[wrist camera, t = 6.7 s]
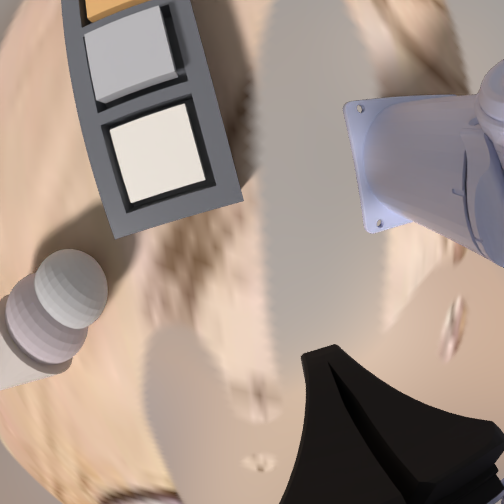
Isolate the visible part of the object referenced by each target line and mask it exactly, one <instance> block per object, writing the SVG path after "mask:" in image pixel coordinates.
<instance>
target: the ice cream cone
mask: <svg viewBox="0 0 504 504" xmlns="http://www.w3.org/2000/svg"><path fill="white" fill-rule="evenodd" d="M107 296H108V286H107V281H106V277H105V274H104V272H103V270H102V268H101V266H100V265H99V264H98V262H97V261H96V260H95V259H94V258H93V257H91V256H90V255H88V254H86V253H84V252H82V251H80V250H75V249H63V250H59V251H56V252H54V253H52V254H51V255H49V256H48V257H46V259H45V260H44V261H43V262H42V263H41V265H40V266H39V268H38V270H37V272H36V273H33V274H30V275H27V276H26V277H24V278H23V279H21V280H20V281H19V282H18V283H17V284H16V285H15V286H14V287H13V289H12V291H11V292H10V294H9V295H6V296H4V297H3V298H2V299H1V300H0V390H3V389H7V388H11V387H15V386H18V385H22V384H26V383H29V382H33V381H36V380H40V379H43V378H47V377H50V376H53V375H57V374H60V373H62V372H64V371H66V370H67V369H68V368H69V367H70V365H71V363H72V357H73V356H74V355H75V354H76V353H77V352H78V351H79V350H80V348H81V347H82V346H83V343H84V341H85V339H86V336H87V332H88V326H89V325H90V324H92V323H93V322H94V321H95V320H97V319H98V317H99V316H100V315H101V313H102V311H103V309H104V307H105V305H106V301H107Z"/></svg>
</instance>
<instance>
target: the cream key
mask: <svg viewBox="0 0 504 504" xmlns="http://www.w3.org/2000/svg"><path fill="white" fill-rule="evenodd" d="M110 133H111V137H112V141H113V145H114V148H115V152H116V156H117V159H118V163H119V166H120V169H121V173H122V176H123V180H124V183H125V186H126V189H127V193H128V196H129V199H130V202H131V203H133V202H136V201H139V200H142V199H145V198H148V197H151V196H154V195H157V194H160V193H164V192H167V191H170V190H173V189H176V188H180V187H183V186H186V185H190V184H193V183H196V182H200V181H203V180H206V174H205V171H204V167H203V164H202V160H201V156H200V153H199V149H198V145H197V142H196V138H195V134H194V131H193V127H192V123H191V119H190V116H189V112H188V108H187V106H186V105H185V104H181V105H178V106H175V107H172V108H168V109H165V110H162V111H159V112H156V113H153V114H150V115H148V116H145V117H142V118H139V119H136V120H134V121H131V122H128V123H126V124H123V125H121V126H118V127H116V128H113V129H111V130H110Z"/></svg>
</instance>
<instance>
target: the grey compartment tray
mask: <svg viewBox="0 0 504 504" xmlns="http://www.w3.org/2000/svg"><path fill="white" fill-rule="evenodd" d="M61 4H62V17H63V27H64V36H65V44H66V51H67V58H68V65H69V71H70V77H71V82H72V88H73V93H74V98H75V103H76V108H77V112H78V117H79V121H80V125H81V130H82V134H83V138H84V142H85V146H86V149H87V153H88V157H89V160H90V164H91V167H92V171H93V174H94V178H95V181H96V184H97V188H98V191H99V194H100V197H101V200H102V203H103V206H104V209H105V212H106V215H107V218H108V221H109V224H110V227H111V229H112V232H113V235H114V238H115V239H118V238H121V237H124V236H127V235H130V234H133V233H136V232H140V231H143V230H146V229H149V228H152V227H156V226H159V225H162V224H165V223H169V222H172V221H175V220H179V219H182V218H185V217H189V216H192V215H196V214H199V213H202V212H206V211H209V210H213V209H217V208H220V207H224V206H227V205H231V204H235V203H238V202H242V201H244V200H243V196H242V192H241V189H240V185H239V181H238V177H237V173H236V170H235V166H234V162H233V158H232V154H231V151H230V147H229V143H228V139H227V136H226V132H225V128H224V124H223V121H222V117H221V113H220V109H219V106H218V102H217V98H216V94H215V91H214V87H213V83H212V79H211V76H210V72H209V68H208V65H207V61H206V57H205V53H204V50H203V46H202V42H201V39H200V35H199V31H198V28H197V24H196V20H195V16H194V13H193V9H192V5H191V2H190V0H150V1H147V2H144V3H141V4H138V5H135V6H133V7H130V8H127V9H125V10H122V11H119V12H117V13H114V14H112V15H110V16H107V17H105V18H103V19H100V20H98V21H96V22H94V23H92V22H91V21H90V20H89V19H88V18H87V10H86V1H85V0H61ZM158 5H159V7H160V9H161V12H162V14H163V18H164V22H165V26H166V30H167V34H168V38H169V42H170V46H171V50H172V54H173V58H174V62H175V66H176V70H177V74H178V77H177V78H174V79H171V80H168V81H165V82H162V83H159V84H156V85H153V86H150V87H147V88H144V89H141V90H139V91H136V92H133V93H130V94H128V95H125V96H123V97H120V98H118V99H115V100H113V101H110V102H108V103H103V102H100V101H97V100H96V96H95V91H94V87H93V82H92V77H91V72H90V66H89V61H88V55H87V49H86V43H85V36H84V34H86V33H89V32H91V31H93V30H95V29H97V28H100V27H102V26H104V25H107V24H109V23H111V22H114V21H116V20H119V19H121V18H124V17H126V16H129V15H132V14H135V13H137V12H140V11H143V10H146V9H149V8H152V7H155V6H158ZM181 104H185V105H186V106H187V108H188V112H189V116H190V119H191V123H192V127H193V131H194V134H195V138H196V142H197V145H198V149H199V153H200V156H201V160H202V164H203V167H204V171H205V174H206V180H203V181H200V182H196V183H193V184H190V185H186V186H183V187H180V188H176V189H173V190H170V191H167V192H164V193H160V194H157V195H154V196H151V197H148V198H145V199H142V200H139V201H136V202H133V203H131V202H130V199H129V196H128V193H127V189H126V186H125V183H124V180H123V176H122V173H121V169H120V166H119V163H118V159H117V156H116V152H115V148H114V145H113V141H112V137H111V133H110V130H111V129H113V128H116V127H118V126H121V125H123V124H126V123H128V122H131V121H134V120H136V119H139V118H142V117H145V116H148V115H150V114H153V113H156V112H159V111H162V110H165V109H168V108H172V107H175V106H178V105H181Z"/></svg>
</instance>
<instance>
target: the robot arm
mask: <svg viewBox="0 0 504 504" xmlns="http://www.w3.org/2000/svg"><path fill="white" fill-rule="evenodd" d="M358 105H360V106H361V108H362V112H361V113H360V112H358V110H357V106H358ZM343 113H344V117H345V122H346V126H347V131H348V134H349V139H350V145H351V149H352V154H353V160H354V165H355V171H356V176H357V183H358V189H359V195H360V201H361V208H362V215H363V222H364V228H365V230H366V231H367V232H369V233H376V232H380V231H383V230H387V229H390V228H394V227H397V226H400V225H404V224H407V223H410V222H415V223H418V224H420V225H422V226H424V227H426V228H428V229H430V230H432V231H434V232H436V233H438V234H440V235H443V236H445V237H447V238H449V239H451V240H452V241H454V242H456V243H458V244H460V245H462V246H464V247H466V248H468V249H470V250H472V251H474V252H476V253H477V254H479V255H481V256H483V257H485V258H487V259H489V260H490V261H492V262H494V263H496V264H497V265H499V266H501V267H503V268H504V59H503V60H502V61H500V62H499V63H498V64H496V65H495V66H494V67H493V68H491V69H490V70H489V72H488V73H487V74H486V75H485V77H484V79H483V81H482V83H481V87H480V90H479V92H478V93H477V94H474V95H461V96H457V95H418V96H400V97H387V98H376V99H366V100H357V101H350V102H347V103H345V104H344V106H343ZM378 220H381V224H380V225H379V226H377V222H378ZM301 361H302V366H303V372H304V377H305V383H306V405H305V418H304V424H303V431H302V436H301V441H300V445H299V450H298V454H297V458H296V461H295V464H294V468H293V471H292V473H291V476H290V479H289V482H288V485H287V487H286V490H285V492H284V494H283V496H282V499H281V501H280V503H279V504H495V503H496V502H498V501H499V500H500V499H502V501H501V504H504V478H503V479H502V480H501V481H500V480H499V478H498V477H497V475H496V473H497V472H498V468H497V467H496V465H495V464H494V463H495V462H496V461H497V459H498V458H499V457H500V455H501V454H502V453H503V451H504V433H503V432H502V431H501V429H500V428H499V427H498V426H497V425H496V424H495V423H494V422H492V421H487V420H480V419H474V418H469V417H464V416H460V415H456V414H452V413H449V412H446V411H443V410H440V409H437V408H435V407H432V406H429V405H427V404H424V403H422V402H420V401H418V400H415V399H413V398H411V397H409V396H407V395H405V394H403V393H402V392H399V391H398V390H396V389H395V388H393V387H391V386H390V385H388V384H386V383H385V382H383V381H382V380H380V379H379V378H377V377H376V376H375V375H373V374H372V373H371V372H369V371H368V370H366V369H365V368H363V367H362V366H361V365H360V364H358V363H357V362H356V361H355V360H354V359H353V358H351V357H350V356H349V355H348V354H347V353H345V352H344V351H343V350H342V349H341V348H340V347H339V346H338V345H336V344H333V345H331V346H327V347H324V348H321V349H318V350H314V351H311V352H307V353H304V354H303V355H302V356H301Z"/></svg>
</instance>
